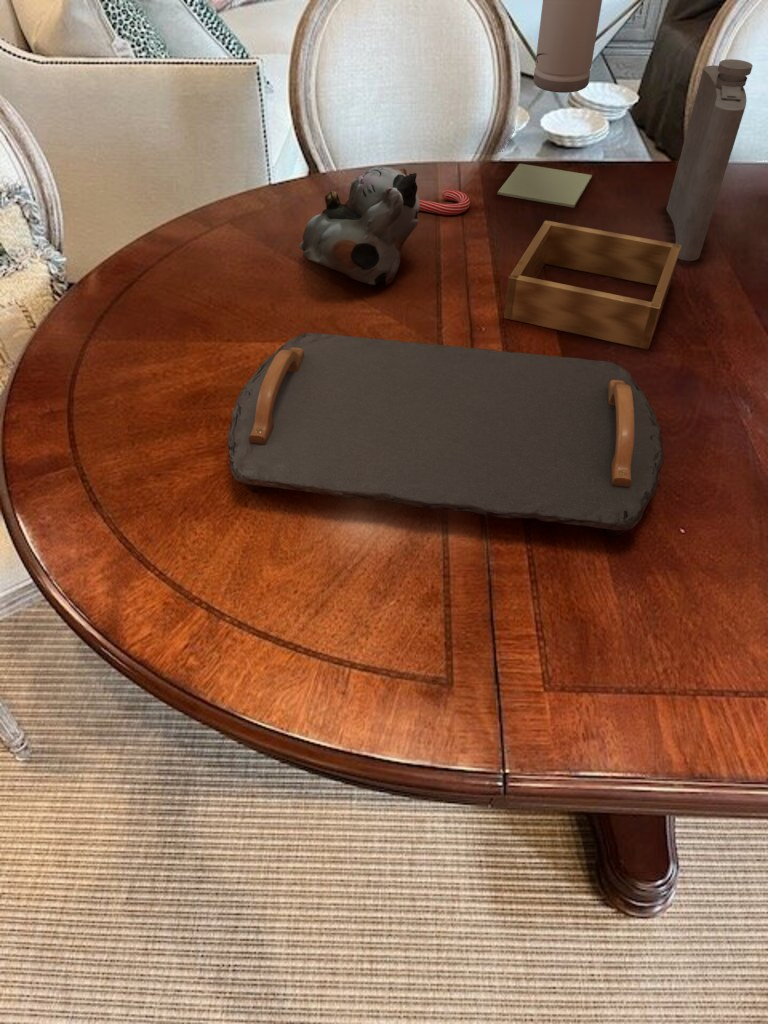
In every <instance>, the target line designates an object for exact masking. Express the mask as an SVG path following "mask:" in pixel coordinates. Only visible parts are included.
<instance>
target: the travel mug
mask: <svg viewBox="0 0 768 1024" xmlns="http://www.w3.org/2000/svg"><path fill="white" fill-rule="evenodd" d="M602 4H603V0H542V4H541V13H540V21H539V28H538V38H537V48H536V54H535V55H536V56H535V63H534V64H535V66H534V67H535V68H534V72H533V84H534V85H535V86H536V87H537V88H539V89H541V90H543V91H546V92H551V93H561V94H563V93H564V94H566V93H575V92H580V91H583V90H584V89H586V88H587V87H588V85H589V83H590V77H591V68H592V66H593V65H592V64H593V60H594V59H593V58H594V54H595V53H594V51H595V46H596V42H597V41H596V40H597V33H598V28H599V23H600V22H599V21H600V16H601V10H602Z"/></svg>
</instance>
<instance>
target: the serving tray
mask: <svg viewBox="0 0 768 1024" xmlns="http://www.w3.org/2000/svg"><path fill="white" fill-rule="evenodd" d="M656 415H657V414H656V412H655V411H654V409H653V408H652V405H651V403H650V401H649V400H648V398H647V395H646V394H645V392H644V391H643V390H642V388H641V387H640V386H639V385H638V384H637V383H636V381H635V380H634V378H633V376H632V374H631V373H630V372H629V371H628V370H627V369H626V368H624V366H622V365H620V364H619V363H616V362H611V361H606V360H593V359H585V358H579V357H569V356H558V355H557V356H556V355H549V354H547V355H546V354H536V353H529V352H528V353H527V352H508V351H504V350H503V351H502V350H496V349H495V350H494V349H489V348H477V347H466V346H459V345H457V346H456V345H444V344H441V343H439V344H438V343H425V342H418V341H417V342H416V341H403V340H392V339H383V338H374V337H365V336H364V337H363V336H351V335H345V334H330V333H323V332H303V333H301V334H299V335H297V336H295V337H292V338H290V339H289V340H287V341H286V342H285V343H284V344H283V345H282V346H280V347H279V348H278V349H277V350H276V351H275V352H273V353H272V354H270V355H269V356H268V357H267V358H266V359H265V360H264V361H263V362H262V363H261V364H260V365H259V366H258V368H257V370H256V372H255V373H254V374H253V375H252V377H251V378H250V379H249V380H248V381H247V382H246V383H245V385H244V386H243V387H242V389H241V391H240V393H239V395H238V396H237V399H236V400H235V404H234V407H233V409H232V412H231V422H230V427H229V429H228V432H227V439H226V440H227V441H226V444H227V448H228V458H229V466H228V467H229V469H230V472H231V474H232V476H233V479H234V480H235V481H237V483H241V484H243V486H244V487H246V488H247V490H249V491H250V492H251V491H252V492H256V491H259V490H261V489H262V488H263V487H267V488H275V489H282V490H291V491H296V492H297V491H298V492H305V493H314V494H321V495H327V496H333V497H337V498H343V499H363V500H364V499H365V500H379V501H385V502H386V501H387V502H392V503H396V504H400V505H404V506H409V507H419V508H422V509H428V510H429V509H430V510H431V509H433V510H436V509H437V510H449V511H453V512H466V513H467V512H469V513H474V514H479V515H482V516H492V517H495V518H498V519H503V520H504V519H505V520H516V519H524V520H533V519H535V520H538V521H541V522H545V523H555V522H556V523H560V524H563V525H572V526H579V527H588V528H595V529H603V530H605V532H606V534H608V535H609V536H612V537H620V536H621V535H622V534H624V533H626V532H627V531H629V530H632V529H633V528H634V527H635V526H637V525H638V524H639V522H641V519H642V518H643V516H644V513H645V510H646V508H647V506H648V505H649V503H650V502H651V500H652V499H653V498H654V496H655V495H656V490H657V487H658V485H659V484H660V471H661V469H662V467H663V464H664V462H665V455H664V451H663V445H664V444H663V439H662V429H661V425H660V423H659V421H658V419H657V416H656Z"/></svg>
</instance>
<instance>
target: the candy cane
mask: <svg viewBox="0 0 768 1024" xmlns="http://www.w3.org/2000/svg"><path fill="white" fill-rule="evenodd" d="M441 195H442V198H443V199H444V200H445V201H451V202H456V203H442V202H435V201H431V200H426V199H425V200H424V199H420V203H419V204H420V209H419V211H420V212H426V213H431V214H432V213H433V214H437V215H443V216H454V215H460V214H463V213H464V212H466V211H468V209H469V208H470V206H471V200H470V199H471V198H470V197H469V196H468V195H467V194H466V193H464V192H462V191H459V190H454V189H445V190H443V191H442V194H441Z"/></svg>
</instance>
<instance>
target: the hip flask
mask: <svg viewBox="0 0 768 1024" xmlns="http://www.w3.org/2000/svg"><path fill="white" fill-rule="evenodd" d="M753 67H754V65H753V64H752V63H751V62H749V61H746V60H741V59H733V58H731V59H723V60H720V61H719V63H718V65H712V64H711V65H706V66H704V67H703V69H702V73H701V77H700V79H699V84H698V88H697V92H696V96H695V99H694V104H693V107H692V110H691V114H690V117H689V118H690V119H689V122H688V126H687V130H686V133H685V137H684V140H683V145H682V148H681V152H680V156H679V160H678V164H677V168H676V172H675V175H674V179H673V183H672V186H671V189H670V194H669V198H668V202H667V205H666V212H667V213H668V215H669V217H670V220H671V222H672V225H673V228H674V235H675V243H674V244H679V245H682V246H681V250H680V253H679V257H678V260H681V261H685V262H694V261H697V260H699V258H700V256H701V252H702V250H703V247H704V243H705V240H706V237H707V233H708V230H709V227H710V223H711V221H712V218H713V214H714V210H715V208H716V204H717V200H718V197H719V194H720V191H721V188H722V184H723V181H724V178H725V175H726V172H727V168H728V165H729V162H730V158H731V155H732V153H733V149H734V145H735V142H736V140H737V139H736V138H737V135H738V133H739V129H740V126H741V122H742V120H743V117H744V114H745V109H746V106H747V94H746V90H745V86H746V84H747V80H748V77H747V76H749V75H751V74H752V73H751V72H752V70H753Z"/></svg>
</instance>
